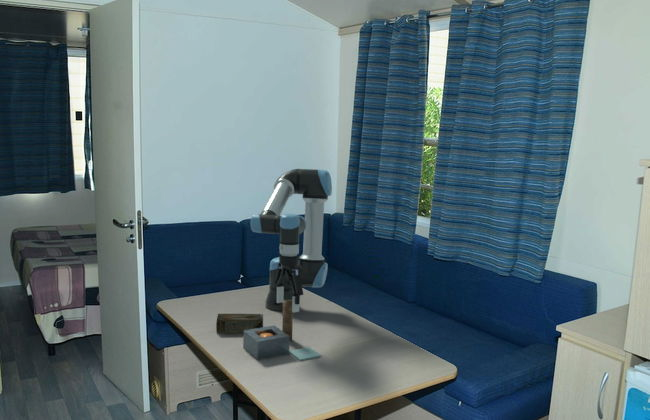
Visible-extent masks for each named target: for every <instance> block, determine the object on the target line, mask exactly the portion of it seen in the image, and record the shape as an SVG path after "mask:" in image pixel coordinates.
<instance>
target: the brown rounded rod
mask: <svg viewBox="0 0 650 420" xmlns="http://www.w3.org/2000/svg"><path fill="white" fill-rule="evenodd" d="M292 302H293V300H289V299H287V300H283V311H282V325H281V326H282V329H281V330H282V331H283V332H285V333H286V334H287V335H289V336H290V342H292V341H293V321H294V318H293V317H294V313H293V312H292Z"/></svg>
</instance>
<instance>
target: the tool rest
mask: <svg viewBox="0 0 650 420" xmlns="http://www.w3.org/2000/svg"><path fill="white" fill-rule="evenodd" d="M289 355H291V356H293V357H294V358H295V359H297V360H298V361H300V362H303V361H306V360H312V359H317V358H321V357H322V354H320V353H319V351H316V350H315V349H313V348H312V347H310V346H308V347H302V348H298V349H297V348H296V349H293V350H289Z"/></svg>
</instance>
